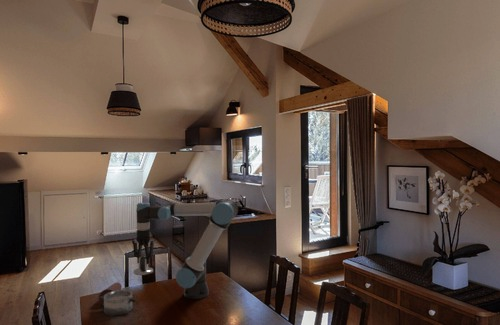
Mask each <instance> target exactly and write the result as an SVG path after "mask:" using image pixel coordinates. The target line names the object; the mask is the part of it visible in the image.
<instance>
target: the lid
mask: <svg viewBox="0 0 500 325" xmlns="http://www.w3.org/2000/svg"><path fill="white" fill-rule="evenodd" d="M145 258H146V255H141V269H140V270H139V267H138V268H135V269H134V270H133V274H134V275H137V276H145V275H149V274H152V273H154V268H153V267H149V266H148V269H147V270H145Z"/></svg>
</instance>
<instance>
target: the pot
mask: <svg viewBox="0 0 500 325" xmlns="http://www.w3.org/2000/svg"><path fill="white" fill-rule="evenodd" d="M99 300H104V305H103V312H104V313H103V314H105V315H107V316H113V317H114V316H116V317H117V316H122V315H125V314H127V313H130V312H131V311H132V310H133V303H136V302H137V301H138V297H133V291H132V290H129V289H121V290H116V291H112V292H109V293H107V294H106V295H104V296H101V297H99V296H98V301H99Z"/></svg>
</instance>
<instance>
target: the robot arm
mask: <svg viewBox="0 0 500 325" xmlns="http://www.w3.org/2000/svg"><path fill="white" fill-rule="evenodd" d="M238 207H239V206H238V205H237V203H236V202H235V201H234V200H232V199H225V200H217V201H215V202H193V203H191V202H190V203H189V202H188V203H174V202H168V203H165V204H163V205H159V206H152V205H151V203H150V202H138V203H137V204H136V210H135V211H136V238H135V239H132V240H131V243H132V248H133V256H134V258H137V259H136V261H137V262H136V263H137V264H138V268H139V270H140V269H141V256H142V251H143V248H144V253H145V256H146V258H145V270H147V269H148V267H149V264H150V260H151V259H150V258H152V257H154V244H155V241H156V240H153V239H152V238H151V236H150V235H151V229H150V228H151V220H158V221H159V220H161V221H164V220H165V221H166V220H169V218H170V217H174V216H175V217H181V216H183V217H187V216H189V217H190V216H195V217H196V216H200V217H201V216H209V218H208V220H209V224H208V225H207V226H206V229H205V231H204V232H203V234H202V236H201V238H200V239H199V241H198V243H197V244H196V247H195V248H194V251H192V253H191V255H190V256H188V257H187V258H186V259H185V260H184V262H183V264H182V266H181V268H180V269H178V270H177V272H176V275H175V281H176V283H177V284H178V286H180V287H181V288H183V289H184V291H183V297H184V298H186V299H188V300H201V299H204V298H207V297H208V296H209V295H210V290H209V287H208V283H207V259H208V257H209V256H210V253H212V250H213V249H214V247H215V246H216V244H217V242H218V240H219V238H220V236H221V235H222V233H223V231H224V230H227V229H228V228H229V226H230V225H231V222H232V221H233V220H234V219H235V217H236V216H237V215H238V212H239V208H238Z"/></svg>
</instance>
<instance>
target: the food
mask: <svg viewBox="0 0 500 325" xmlns="http://www.w3.org/2000/svg"><path fill="white" fill-rule="evenodd" d="M116 290H122V284H121V283H120V282H115V283H113V284H111V285H110V286H108V287H107V288H105V289H103V290H102V291H101V292H100V293H99V294H98V298H99V297H101V296H104V295H106V294H107V293H109V292H112V291H116ZM98 302H99V303H100V304H101V305H102V306H104V300H99V299H98Z"/></svg>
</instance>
